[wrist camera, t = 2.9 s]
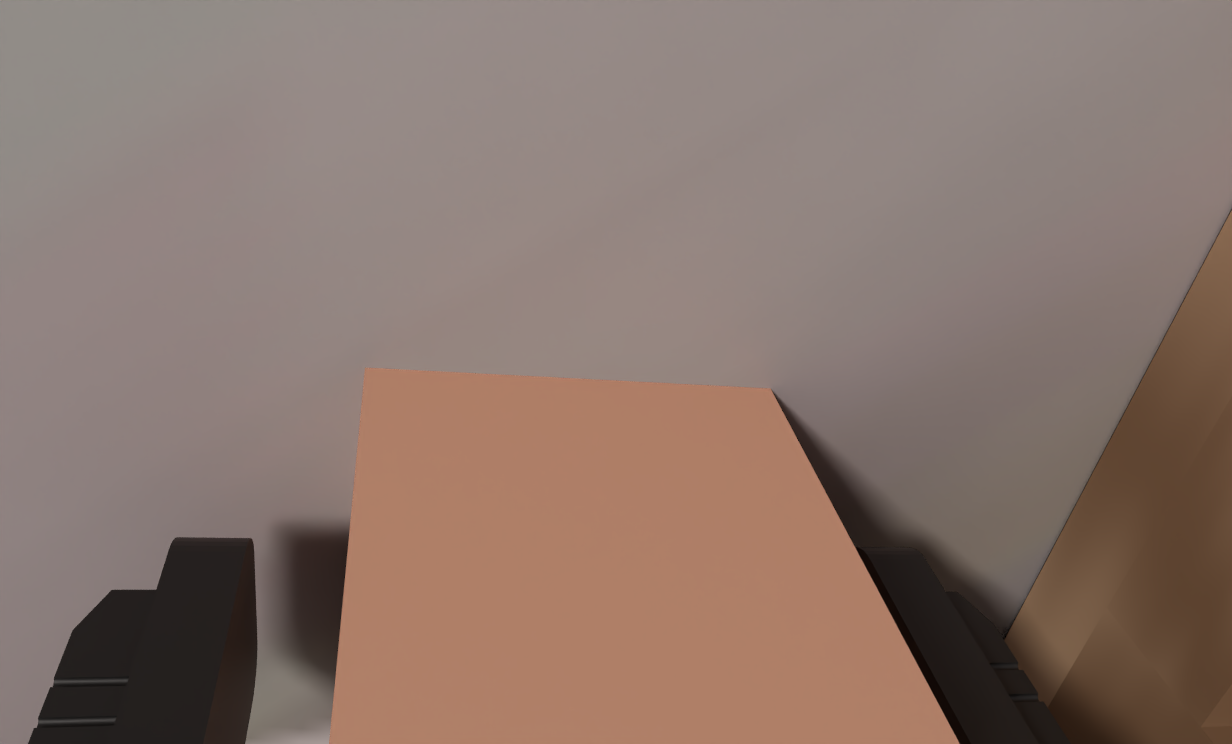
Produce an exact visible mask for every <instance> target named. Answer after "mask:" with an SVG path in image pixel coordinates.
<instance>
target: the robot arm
mask: <svg viewBox="0 0 1232 744" xmlns="http://www.w3.org/2000/svg"><path fill="white" fill-rule="evenodd" d="M855 548H856V550H857V552H858V554H859V556H860V558H861V560H862V561H863V563H864V565H865V567H866V569H867V571H868V573H869V575H870V576H871V578H872V580H873V582H874V584H875V586H876V588H877V590H878V591H879V593H880V595H881V597H882V599H883V601H884V603H885V605H886V606H887V608H888V610H889V612H890V614H891V616H892V618H893V620H894V621H895V623H896V625H897V627H898V629H899V631H900V633H901V635H902V637H903V638H904V640H905V642H906V644H907V646H908V648H909V650H910V652H911V653H912V655H913V657H914V659H915V661H916V663H917V665H918V667H919V668H920V670H921V672H922V674H923V676H924V678H925V680H926V682H927V683H928V685H929V687H930V689H931V691H932V693H933V695H934V697H935V698H936V700H937V702H938V704H939V706H940V708H941V710H942V712H943V713H944V715H945V717H946V719H947V721H948V723H949V725H950V727H951V728H952V730H953V732H954V734H955V736H956V738H957V740H958V742H959V744H1071V743H1070V741H1069V740H1068V738H1067V737H1066V735H1065V734H1064V732H1063V731H1062V729H1061V728H1060V726H1059V724H1058V723H1057V721H1056V720H1055V718H1054V717H1053V715H1052V714H1051V712H1050V711H1049V709H1048V707H1047V706H1046V704H1045V703H1044V701H1042V702H1040V701H1039V700H1038V692H1037V690H1036V689H1035V687H1034V686H1033V684H1032V683H1031V681H1030V680H1029V678H1028V677H1027V675H1026V673H1025V672H1024V670H1019V668H1018V661H1017V660H1016V658H1015V656H1014V655H1013V653H1012V652H1011V650H1010V649H1009V647H1008V646H1007V644H1006V643H1005V641H1004V639H1003V638H1002V636H1001V635H1000V633H999V632H998V630H997V629H996V627H995V626H994V624H993V623H991V622H990V621H989V620H988V619H987V618H986V617H985V616H984V615H983V614H981V613H980V612H979V611H978V610H977V609H976V608H975V607H974V606H972V605H971V604H970V603H969V602H968V601H967V600H966V599H965V598H963V597H962V596H961V595H960V594H959V593H958V592H945V590H944V589H943V587H942V585H941V584H940V582H939V581H938V579H937V577H936V576H935V574H934V572H933V571H932V569H931V568H930V566H929V564H928V563H927V561H926V559H925V558H924V557H923V555H922V554H921V553H920V552H919V551H917V550H916V549H913V548H890V547H855ZM256 665H257V617H256V590H255V562H254V546H253V541H252V539H251V538H185V537H176V538H175V539H174V540H173V542H172V544H171V546H170V549H169V551H168V555H167V558H166V561H165V564H164V567H163V570H162V574H161V577H160V580H159V583H158V586H157V589H156V590H111V591H110V592H109V593H108V594H107V596H106V597H105V598H104V599H103V600H102V601H101V602H100V603H99V604H98V605H97V606H96V607H95V608H94V609H93V610H92V611H91V612H90V613H89V614H88V615H87V616H86V617H85V618H84V619H83V620H82V621H81V622H80V623H79V624H78V625H77V626H76V627H75V629H74V630H73V631H72V633H71V636H70V639H69V641H68V644H67V646H66V649H65V651H64V654H63V656H62V659H61V661H60V664H59V666H58V669H57V672H56V674H55V677H54V685H53V687H50V689H49V692H48V694H47V697H46V699H45V702H44V705H43V707H42V710H41V712H40V715H39V717H38V726H37V728H34V730H33V732H32V735H31V737H30V740H29V743H28V744H245V741H246V735H247V730H248V724H249V719H250V713H251V707H252V701H253V695H254V687H255V677H256Z"/></svg>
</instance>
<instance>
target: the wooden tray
mask: <svg viewBox="0 0 1232 744" xmlns="http://www.w3.org/2000/svg"><path fill="white" fill-rule="evenodd" d="M1004 641H1005V643H1006V644H1007V646H1008V647H1009V649H1010V650H1011V652H1012V653H1013V655H1014V656H1015V658H1016V660H1017V661H1018V668H1019V670H1024V672H1025V673H1026V675H1027V677H1028V678H1029V680H1030V681H1031V683H1032V684H1033V686H1034V687H1035V689H1036V690H1037V692H1038V700H1039V701H1040V702H1042V701H1044V703H1045V704H1046V706H1047V707H1048V709H1049V711H1050V712H1051V714H1052V715H1053V717H1054V718H1055V720H1056V721H1057V723H1058V724H1059V726H1060V728H1061V729H1062V731H1063V732H1064V734H1065V735H1066V737H1067V738H1068V740H1069V741H1070V743H1071V744H1232V211H1231V213H1230V214H1229V216H1228V218H1227V220H1226V222H1225V224H1224V226H1223V228H1222V230H1221V231H1220V233H1219V235H1218V237H1217V239H1216V241H1215V243H1214V245H1213V247H1212V248H1211V250H1210V252H1209V254H1208V256H1207V258H1206V260H1205V262H1204V264H1203V265H1202V267H1201V269H1200V271H1199V273H1198V275H1197V277H1196V279H1195V281H1194V282H1193V284H1192V286H1191V288H1190V290H1189V292H1188V294H1187V296H1186V298H1185V300H1184V301H1183V303H1182V305H1181V307H1180V309H1179V311H1178V313H1177V315H1176V317H1175V318H1174V320H1173V322H1172V324H1171V326H1170V328H1169V330H1168V332H1167V334H1166V335H1165V337H1164V339H1163V341H1162V343H1161V345H1160V347H1159V349H1158V351H1157V352H1156V354H1155V356H1154V358H1153V360H1152V362H1151V364H1150V366H1149V368H1148V369H1147V371H1146V373H1145V375H1144V377H1143V379H1142V381H1141V383H1140V385H1139V387H1138V388H1137V390H1136V392H1135V394H1134V396H1133V398H1132V400H1131V402H1130V404H1129V405H1128V407H1127V409H1126V411H1125V413H1124V415H1123V417H1122V419H1121V421H1120V422H1119V424H1118V426H1117V428H1116V430H1115V432H1114V434H1113V436H1112V438H1111V439H1110V441H1109V443H1108V445H1107V447H1106V449H1105V451H1104V453H1103V455H1102V456H1101V458H1100V460H1099V462H1098V464H1097V466H1096V468H1095V470H1094V472H1093V473H1092V475H1091V477H1090V479H1089V481H1088V483H1087V485H1086V487H1085V489H1084V491H1083V492H1082V494H1081V496H1080V498H1079V500H1078V502H1077V504H1076V506H1075V508H1074V509H1073V511H1072V513H1071V515H1070V517H1069V519H1068V521H1067V523H1066V525H1065V526H1064V528H1063V530H1062V532H1061V534H1060V536H1059V538H1058V540H1057V542H1056V543H1055V545H1054V547H1053V549H1052V551H1051V553H1050V555H1049V557H1048V559H1047V560H1046V562H1045V564H1044V566H1043V568H1042V570H1041V572H1040V574H1039V576H1038V578H1037V579H1036V581H1035V583H1034V585H1033V587H1032V589H1031V591H1030V593H1029V595H1028V596H1027V598H1026V600H1025V602H1024V604H1023V606H1022V608H1021V610H1020V612H1019V613H1018V615H1017V617H1016V619H1015V621H1014V623H1013V625H1012V627H1011V629H1010V630H1009V632H1008V634H1007V636H1006V638H1005V640H1004Z"/></svg>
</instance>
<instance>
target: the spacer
mask: <svg viewBox="0 0 1232 744" xmlns="http://www.w3.org/2000/svg"><path fill="white" fill-rule="evenodd" d="M329 744H959V742H958V740H957V738H956V736H955V734H954V732H953V730H952V728H951V727H950V725H949V723H948V721H947V719H946V717H945V715H944V713H943V712H942V710H941V708H940V706H939V704H938V702H937V700H936V698H935V697H934V695H933V693H932V691H931V689H930V687H929V685H928V683H927V682H926V680H925V678H924V676H923V674H922V672H921V670H920V668H919V667H918V665H917V663H916V661H915V659H914V657H913V655H912V653H911V652H910V650H909V648H908V646H907V644H906V642H905V640H904V638H903V637H902V635H901V633H900V631H899V629H898V627H897V625H896V623H895V621H894V620H893V618H892V616H891V614H890V612H889V610H888V608H887V606H886V605H885V603H884V601H883V599H882V597H881V595H880V593H879V591H878V590H877V588H876V586H875V584H874V582H873V580H872V578H871V576H870V575H869V573H868V571H867V569H866V567H865V565H864V563H863V561H862V560H861V558H860V556H859V554H858V552H857V550H856V548H855V546H854V545H853V543H852V541H851V539H850V537H849V535H848V533H847V531H846V530H845V528H844V526H843V524H842V522H841V520H840V518H839V516H838V514H837V513H836V511H835V509H834V507H833V505H832V503H831V501H830V499H829V498H828V496H827V494H826V492H825V490H824V488H823V486H822V484H821V483H820V481H819V479H818V477H817V475H816V473H815V471H814V469H813V468H812V466H811V464H810V462H809V460H808V458H807V456H806V454H805V453H804V451H803V449H802V447H801V445H800V443H799V441H798V439H797V438H796V436H795V434H794V432H793V430H792V428H791V426H790V424H789V423H788V421H787V419H786V417H785V415H784V413H783V411H782V409H781V407H780V406H779V404H778V402H777V400H776V398H775V396H774V394H773V392H772V391H771V389H767V388H747V387H728V386H709V385H689V384H670V383H651V382H631V381H612V380H592V379H573V378H554V377H534V376H515V375H496V374H476V373H457V372H438V371H418V370H399V369H380V368H365V375H364V386H363V396H362V407H361V417H360V428H359V438H358V448H357V459H356V469H355V480H354V490H353V501H352V511H351V521H350V532H349V542H348V553H347V563H346V574H345V584H344V594H343V605H342V615H341V626H340V636H339V646H338V657H337V667H336V678H335V688H334V699H333V709H332V719H331V730H330V740H329Z"/></svg>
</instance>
